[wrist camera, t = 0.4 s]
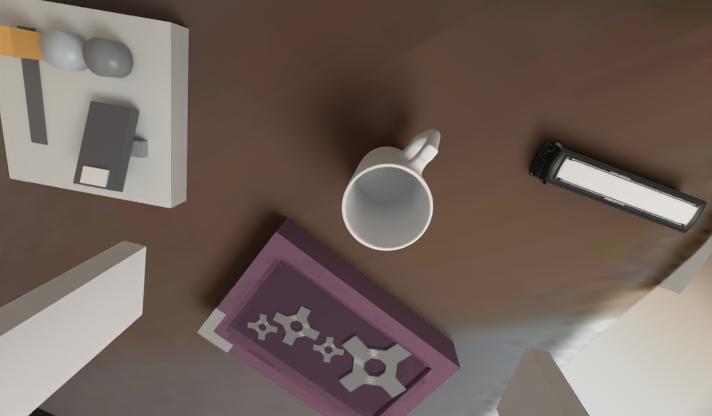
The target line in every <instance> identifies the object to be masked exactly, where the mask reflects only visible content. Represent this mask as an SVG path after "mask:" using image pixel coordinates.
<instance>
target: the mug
mask: <svg viewBox="0 0 712 416" xmlns="http://www.w3.org/2000/svg"><path fill="white" fill-rule="evenodd" d="M439 141H440V133H439V131H437V130H436V129H430V130H427V131H425V132H423V133H421V134H419V135H417V136H416V137H414V139H413V140H412V141H411V142H410V143H409V145H408V146H407V147H406V148H405V149H404V150H403V151H402V150H400V149H398V148H395V147H379V148H376V149H374V150H372V151H370V152H369V153H368V154H367V155H366V156H365V157H364V158H363V159H362V161H361V162H360V164H359V165H358V167H357V169H356V171H355V173H354V175H353V176H352V178H351V180H350V182H349V184H348V186H347V188H346V190H345V193H344V196H343V200H342V215H343V219H344V222H345V224H346V227H347V228H348V230H349V232H350V233H351V234H352V235H353V237H354V238H355V239H357V240H358V241H359V242H360V243H362V244H364V245H366V246H368V247H370V248H373V249H377V250H396V249H400V248H403V247H406V246H408V245H410V244H412V243H413V242H415V241H416V240H417V239H418V238H419V237H420V236H421V235H422V234H423V233H424V232H425V230H426V229H427V227H428V225H429V223H430V220H431V217H432V212H433V201H432V196H431V192H430V190H429V188H428V186H427V184H426V183H425V181H424V179H423V177H422V171H423V169H424V167H425V166H426V164H427V163H428V162H430V161H431V160H432V159H433V158H434V156H435V155H436V154H437V153H438V150H437V148H438V145H439Z"/></svg>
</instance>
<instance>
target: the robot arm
mask: <svg viewBox="0 0 712 416" xmlns="http://www.w3.org/2000/svg"><path fill="white" fill-rule="evenodd" d="M145 257H146V246H143V245H139V244H135V243H131V242H127V241H122V242H120V243H119V244H117V245H115V246H113V247H111V248H109V249H108V250H106V251H104V252H102V253H100V254H98V255H97V256H95V257H93V258H91V259H89V260H87V261H86V262H84V263H82V264H80V265H78V266H76V267H74V268H73V269H71V270H69V271H67V272H65V273H63V274H62V275H60V276H58V277H56V278H54V279H52V280H51V281H49V282H47V283H45V284H43V285H41V286H39V287H38V288H36V289H34V290H32V291H30V292H28V293H27V294H25V295H23V296H21V297H19V298H17V299H16V300H14V301H12V302H10V303H8V304H6V305H4V306H3V307H1V308H0V416H28V415H29V414H30V413H31V412H32V411H34V410H35V409H36V408H37V407H38V406H39V405H40V404H42V403H43V402H44V401H45V400H46V399H47V398H48V397H49V396H51V395H52V394H53V393H54V392H55V391H56V390H57V389H58V388H60V387H61V386H62V385H63V384H64V383H65V382H66V381H67V380H69V379H70V378H71V377H72V376H73V375H74V374H75V373H77V372H78V371H79V370H80V369H81V368H82V367H83V366H84V365H86V364H87V363H88V362H89V361H90V360H91V359H92V358H93V357H95V356H96V355H97V354H98V353H99V352H100V351H101V350H102V349H104V348H105V347H106V346H107V345H108V344H109V343H110V342H112V341H113V340H114V339H115V338H116V337H117V336H118V335H119V334H121V333H122V332H123V331H124V330H125V329H126V328H127V327H128V326H130V325H131V324H132V323H133V322H134V321H135V320H136V319H137V318H139V317H140V316H141V315H142V308H143V291H144V274H145ZM497 411H498V414H499V416H589V414H588V413H587V411H586V410H585V408H584V407H583V405H582V404H581V402H580V400H579V399H578V397H577V396H576V394H575V393H574V391H573V390H572V388H571V386H570V385H569V383H568V382H567V380H566V378H565V377H564V375H563V374H562V372H561V371H560V369H559V367H558V366H557V364H556V363H555V361H554V360H553V358H552V357H551V355H550V353H548V352H544V351H540V350H536V349H533V348H529V347H527V348H526V350H525V352H524V354H523V356H522V358H521V360H520V362H519V364H518V366H517V368H516V370H515V372H514V374H513V376H512V378H511V380H510V382H509V384H508V386H507V388H506V390H505V392H504V394H503V396H502V398H501V400H500V402H499V404H498V406H497Z"/></svg>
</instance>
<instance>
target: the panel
mask: <svg viewBox="0 0 712 416" xmlns="http://www.w3.org/2000/svg"><path fill="white" fill-rule="evenodd" d="M0 25H2V26H8V27H14V28H19V29H24V30H29V31H34V32H39V33H44V32H46V31H48V30H58V31H62V32H67V33H72V34H76V35H79V36H81V37H82V38H83V39H85V40H86V42H87V41H88V40H89V39H91V38H94V37H99V38H103V39H108V40H113V41H117V42H120V43H122V44H123V45H125V46H126V47H127V48H128V49H129V51H130V53H131V55H132V58H133V68H132V71H131V73H130V74H129V75H128V76H126V77H124V78H115V77H103V76H98V75H96V74H94V73H93V72H92V71H90V70H89V68H87V69H85V70H83V71H76V70H65V69H57V68H54V67H52V66H51V65H49V64H48V63H47V62H46V61H43V60H35V59H26V58H17V57H10V56H5V55H0V114H1V121H2V128H3V134H4V141H5V148H6V155H7V162H8V168H9V175H10V178H11V179H17V180H22V181H28V182H33V183H38V184H44V185H49V186H54V187H60V188H65V189H71V190H76V191H81V192H87V193H92V194H97V195H103V196H108V197H114V198H119V199H124V200H130V201H135V202H140V203H146V204H151V205H157V206H162V207H167V208H172V207H174V206H176V205H178V204H180V203H182V202H184V201H186V187H187V117H188V48H189V29H188V28H185V27H182V26H179V25H177V24H174V23H171V22H165V21H160V20H154V19H148V18H142V17H136V16H130V15H124V14H118V13H113V12H107V11H101V10H95V9H89V8H83V7H77V6H71V5H65V4H60V3H54V2H48V1H42V0H0ZM91 101H96V102H102V103H107V104H113V105H118V106H124V107H130V108H133V109H135V110H137V111H139V112H140V113H139V117H138V122H137V127H136V132H135V136H134V141H133V146H132V151H131V155H130V160H129V165H128V170H127V174H126V179H125V184H124V189H123V192H118V191H112V190H106V189H101V188H95V187H90V186H85V185H79V184H74V183H73V180H74V176H75V171H76V166H77V162H78V157H79V153H80V148H81V143H82V139H83V134H84V129H85V125H86V120H87V116H88V111H89V106H90V102H91Z"/></svg>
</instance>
